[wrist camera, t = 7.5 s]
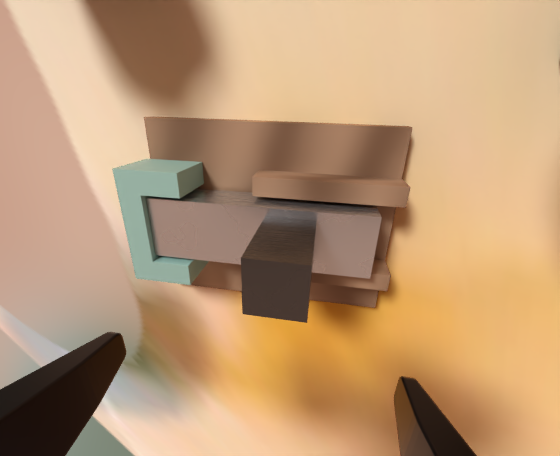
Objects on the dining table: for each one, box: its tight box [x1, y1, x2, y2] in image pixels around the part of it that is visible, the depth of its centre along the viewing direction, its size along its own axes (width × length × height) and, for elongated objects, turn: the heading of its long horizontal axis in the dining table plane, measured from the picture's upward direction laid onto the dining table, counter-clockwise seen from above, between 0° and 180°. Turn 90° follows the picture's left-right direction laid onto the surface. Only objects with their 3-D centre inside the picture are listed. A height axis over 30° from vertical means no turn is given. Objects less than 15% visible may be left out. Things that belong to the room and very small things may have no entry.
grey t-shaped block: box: [146, 188, 382, 323], centre depth 16 cm, size 14×4×8 cm, turn 89°
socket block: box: [113, 159, 209, 285], centre depth 19 cm, size 4×8×4 cm, turn 178°
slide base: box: [144, 117, 412, 308], centre depth 19 cm, size 17×13×3 cm
